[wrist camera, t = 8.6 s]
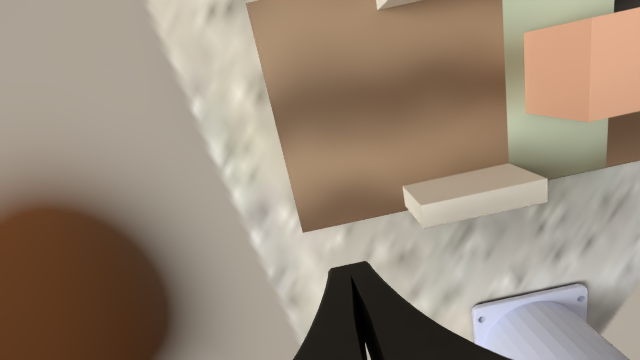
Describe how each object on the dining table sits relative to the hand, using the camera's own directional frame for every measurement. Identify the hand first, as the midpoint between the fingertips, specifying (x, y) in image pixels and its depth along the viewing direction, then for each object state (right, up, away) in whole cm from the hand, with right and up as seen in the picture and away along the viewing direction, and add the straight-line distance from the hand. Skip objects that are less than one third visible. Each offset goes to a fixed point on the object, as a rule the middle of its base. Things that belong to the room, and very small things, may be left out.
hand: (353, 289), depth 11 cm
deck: (+8, +9, +7) cm, 15 cm away
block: (+11, +10, +5) cm, 16 cm away
